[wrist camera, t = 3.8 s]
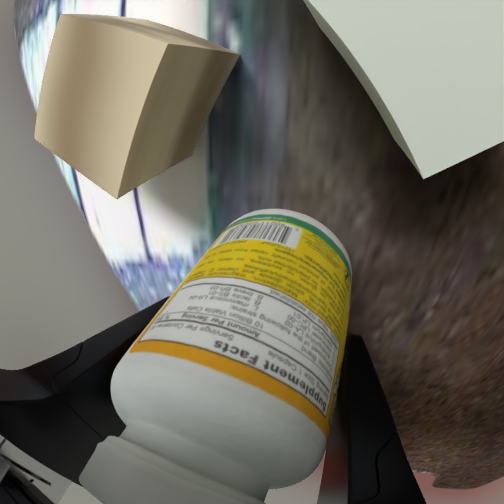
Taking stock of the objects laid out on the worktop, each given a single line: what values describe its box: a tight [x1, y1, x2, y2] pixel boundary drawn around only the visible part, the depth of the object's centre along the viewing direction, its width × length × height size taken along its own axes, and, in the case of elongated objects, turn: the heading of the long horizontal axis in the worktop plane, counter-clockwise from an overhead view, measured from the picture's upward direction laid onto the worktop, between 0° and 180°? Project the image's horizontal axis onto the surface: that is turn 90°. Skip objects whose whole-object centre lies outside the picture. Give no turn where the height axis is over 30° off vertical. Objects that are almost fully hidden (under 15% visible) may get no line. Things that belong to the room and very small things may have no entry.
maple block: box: [35, 14, 240, 199], centre depth 9 cm, size 5×5×5 cm
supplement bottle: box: [79, 209, 352, 504], centre depth 7 cm, size 5×5×10 cm
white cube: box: [303, 0, 504, 179], centre depth 5 cm, size 5×5×5 cm
